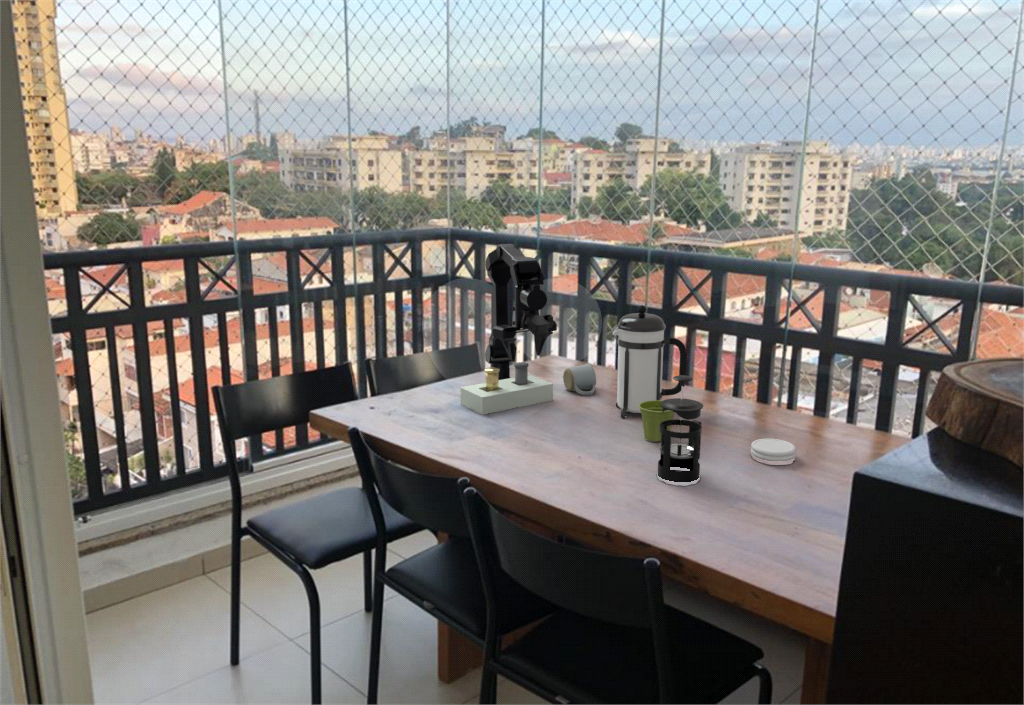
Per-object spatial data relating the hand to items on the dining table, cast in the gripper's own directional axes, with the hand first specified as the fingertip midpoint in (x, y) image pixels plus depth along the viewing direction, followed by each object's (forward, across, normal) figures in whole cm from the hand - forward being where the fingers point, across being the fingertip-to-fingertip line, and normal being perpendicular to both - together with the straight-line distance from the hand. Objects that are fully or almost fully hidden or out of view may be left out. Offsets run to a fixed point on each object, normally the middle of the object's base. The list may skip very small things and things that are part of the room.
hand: (525, 358), depth 224 cm
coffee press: (+14, +21, -26) cm, 36 cm away
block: (+13, -4, +4) cm, 14 cm away
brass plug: (+10, -9, +4) cm, 14 cm away
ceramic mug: (+14, +21, 0) cm, 25 cm away
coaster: (+13, +21, -69) cm, 73 cm away
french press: (+13, -5, -64) cm, 66 cm away
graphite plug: (+10, +1, +4) cm, 11 cm away
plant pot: (+13, +9, -44) cm, 46 cm away
